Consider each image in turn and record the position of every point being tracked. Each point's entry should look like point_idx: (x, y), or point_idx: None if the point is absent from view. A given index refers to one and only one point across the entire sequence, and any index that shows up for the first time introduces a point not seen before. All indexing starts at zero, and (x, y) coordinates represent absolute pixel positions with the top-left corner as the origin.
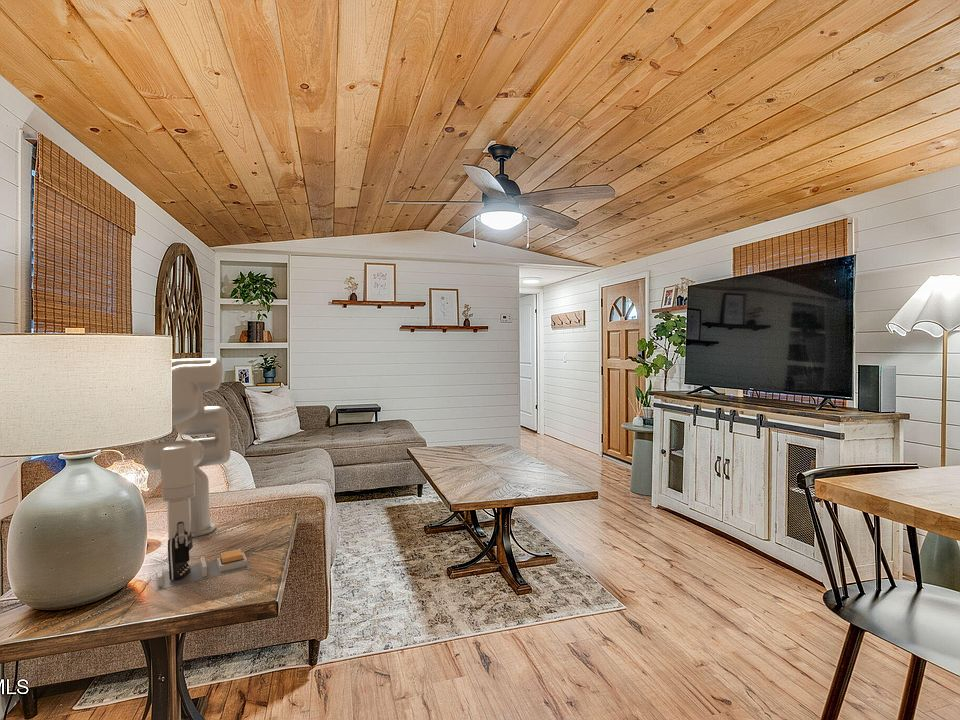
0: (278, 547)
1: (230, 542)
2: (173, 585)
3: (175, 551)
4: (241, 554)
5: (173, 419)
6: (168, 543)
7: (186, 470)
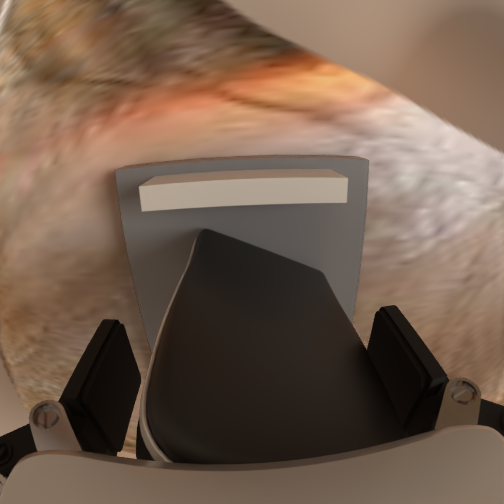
0: None
1: (477, 373)
2: (137, 245)
3: (73, 381)
4: None
5: None
6: (149, 396)
7: None
